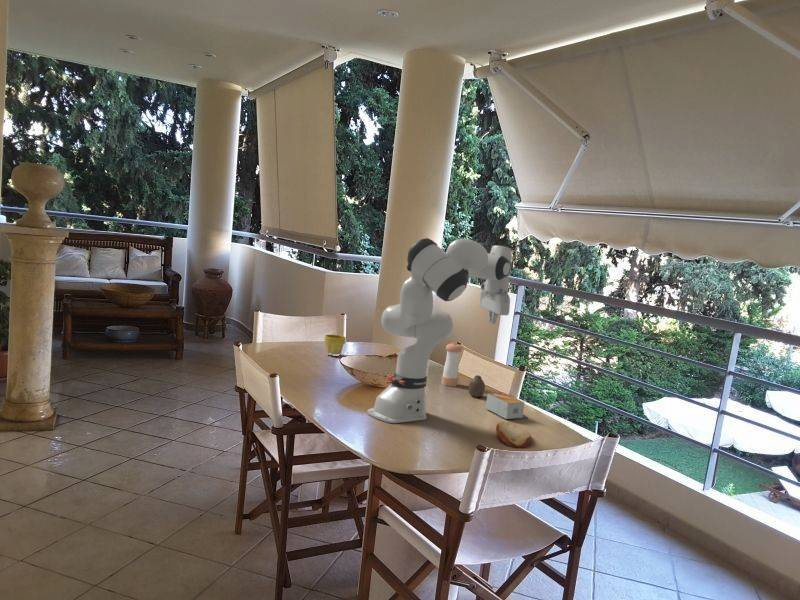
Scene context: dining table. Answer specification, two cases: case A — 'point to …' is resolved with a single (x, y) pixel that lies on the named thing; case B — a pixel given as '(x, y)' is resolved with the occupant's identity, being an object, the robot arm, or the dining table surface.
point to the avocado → (476, 387)
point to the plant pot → (334, 343)
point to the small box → (505, 405)
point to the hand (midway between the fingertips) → (492, 323)
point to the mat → (518, 418)
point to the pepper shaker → (451, 365)
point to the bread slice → (513, 435)
